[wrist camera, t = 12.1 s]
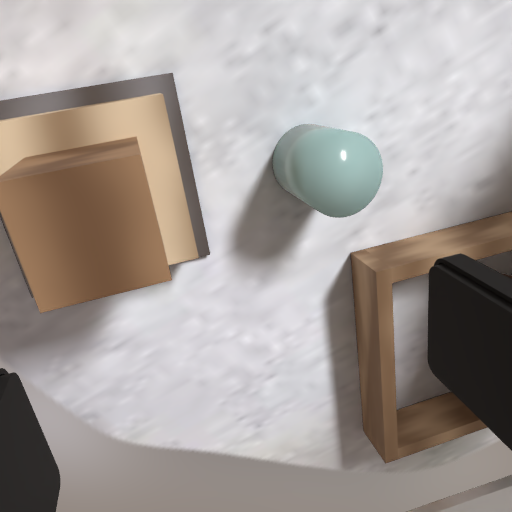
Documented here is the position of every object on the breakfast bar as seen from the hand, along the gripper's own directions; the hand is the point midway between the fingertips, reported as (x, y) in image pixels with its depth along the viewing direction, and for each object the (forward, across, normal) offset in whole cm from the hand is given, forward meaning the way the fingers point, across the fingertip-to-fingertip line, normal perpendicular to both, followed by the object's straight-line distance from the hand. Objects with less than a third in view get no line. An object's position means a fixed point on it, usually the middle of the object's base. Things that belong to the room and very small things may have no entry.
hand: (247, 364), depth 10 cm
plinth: (+22, +5, 0) cm, 22 cm away
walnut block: (+19, +4, 0) cm, 19 cm away
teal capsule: (+22, -9, +1) cm, 24 cm away
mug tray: (+22, -22, +18) cm, 35 cm away
